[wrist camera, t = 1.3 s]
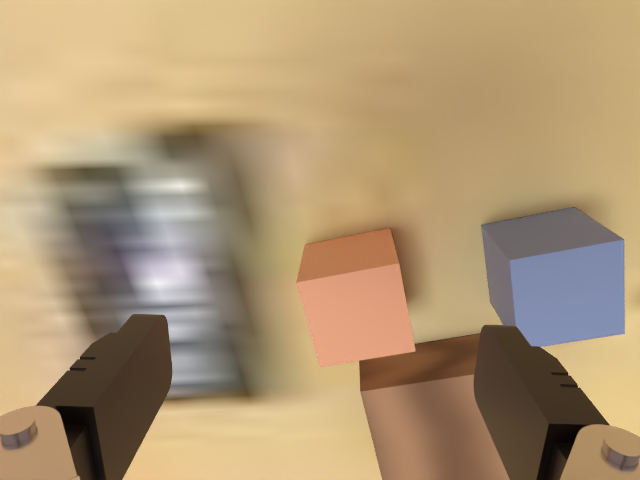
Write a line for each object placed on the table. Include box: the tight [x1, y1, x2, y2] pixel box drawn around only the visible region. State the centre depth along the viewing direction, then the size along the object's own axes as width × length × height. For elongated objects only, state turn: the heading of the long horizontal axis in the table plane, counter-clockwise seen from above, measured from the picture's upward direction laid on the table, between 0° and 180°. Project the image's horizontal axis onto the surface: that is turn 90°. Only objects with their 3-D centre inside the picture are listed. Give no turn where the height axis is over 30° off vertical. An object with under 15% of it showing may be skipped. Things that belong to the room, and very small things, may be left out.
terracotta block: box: [296, 228, 416, 367], centre depth 28 cm, size 6×6×6 cm
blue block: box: [481, 207, 625, 347], centre depth 27 cm, size 6×6×6 cm
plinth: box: [359, 334, 510, 480], centre depth 32 cm, size 10×10×4 cm
